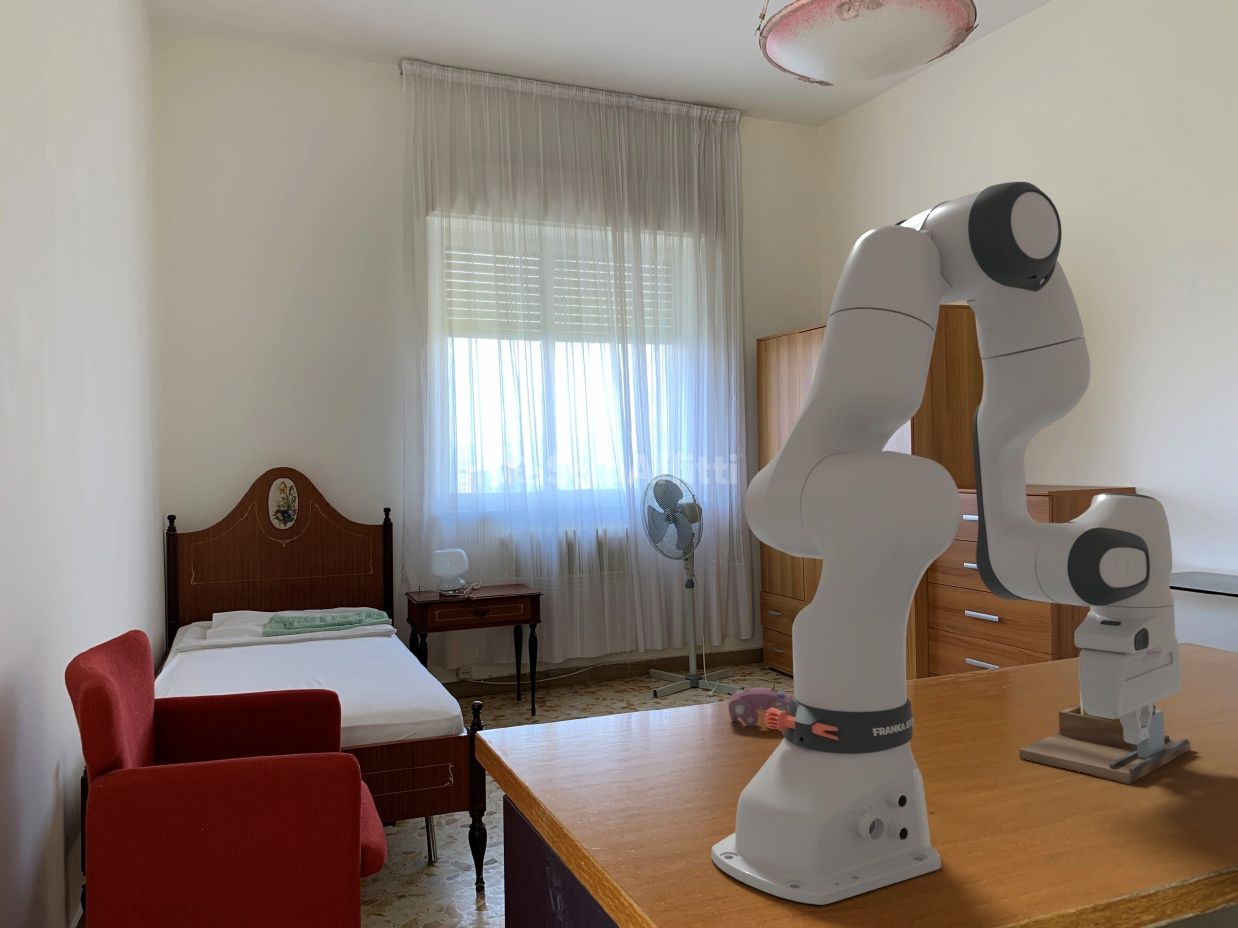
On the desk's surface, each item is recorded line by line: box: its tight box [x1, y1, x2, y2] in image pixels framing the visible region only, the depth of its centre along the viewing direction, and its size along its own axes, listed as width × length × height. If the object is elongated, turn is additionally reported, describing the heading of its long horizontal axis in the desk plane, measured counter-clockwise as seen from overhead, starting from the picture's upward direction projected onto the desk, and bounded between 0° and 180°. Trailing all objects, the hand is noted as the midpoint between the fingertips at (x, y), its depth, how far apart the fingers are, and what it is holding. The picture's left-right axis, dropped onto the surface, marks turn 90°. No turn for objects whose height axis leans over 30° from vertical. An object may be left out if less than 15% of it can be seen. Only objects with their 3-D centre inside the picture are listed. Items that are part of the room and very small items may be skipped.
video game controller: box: [728, 687, 791, 726], centre depth 131 cm, size 10×5×7 cm, turn 78°
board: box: [1019, 703, 1192, 785], centre depth 114 cm, size 19×13×4 cm
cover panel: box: [1137, 704, 1165, 759], centre depth 109 cm, size 5×1×6 cm, turn 129°
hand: (1136, 741), depth 107 cm, fingers closed
